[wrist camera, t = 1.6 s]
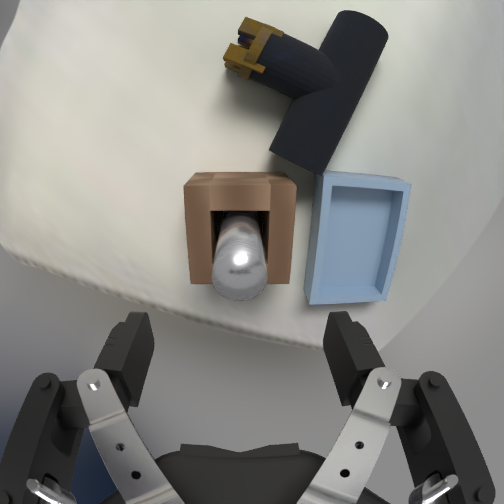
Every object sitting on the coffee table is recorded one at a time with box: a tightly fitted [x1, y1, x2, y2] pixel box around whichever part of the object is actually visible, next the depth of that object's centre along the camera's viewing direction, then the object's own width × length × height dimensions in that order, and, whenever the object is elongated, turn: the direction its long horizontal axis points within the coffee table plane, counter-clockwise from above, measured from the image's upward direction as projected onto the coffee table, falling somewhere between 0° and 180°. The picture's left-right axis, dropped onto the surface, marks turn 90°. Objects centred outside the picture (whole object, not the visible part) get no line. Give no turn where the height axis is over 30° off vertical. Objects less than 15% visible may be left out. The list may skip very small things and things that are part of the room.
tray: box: [304, 171, 411, 305], centre depth 27 cm, size 9×13×3 cm
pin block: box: [184, 172, 297, 284], centre depth 25 cm, size 8×8×6 cm
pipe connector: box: [223, 10, 388, 176], centre depth 20 cm, size 12×5×15 cm
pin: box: [212, 210, 267, 301], centre depth 22 cm, size 3×3×12 cm
